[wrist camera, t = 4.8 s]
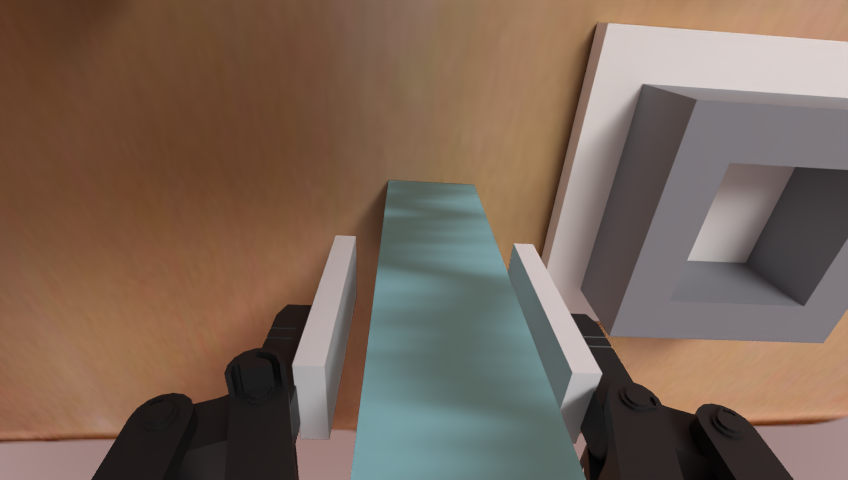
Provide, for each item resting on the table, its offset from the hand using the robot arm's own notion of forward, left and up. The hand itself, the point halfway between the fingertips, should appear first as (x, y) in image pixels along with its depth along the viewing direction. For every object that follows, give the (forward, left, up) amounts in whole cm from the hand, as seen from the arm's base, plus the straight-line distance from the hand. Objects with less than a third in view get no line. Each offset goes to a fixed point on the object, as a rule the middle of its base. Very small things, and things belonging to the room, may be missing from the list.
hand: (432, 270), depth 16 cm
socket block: (+13, +2, -4) cm, 14 cm away
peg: (0, 0, -4) cm, 4 cm away
